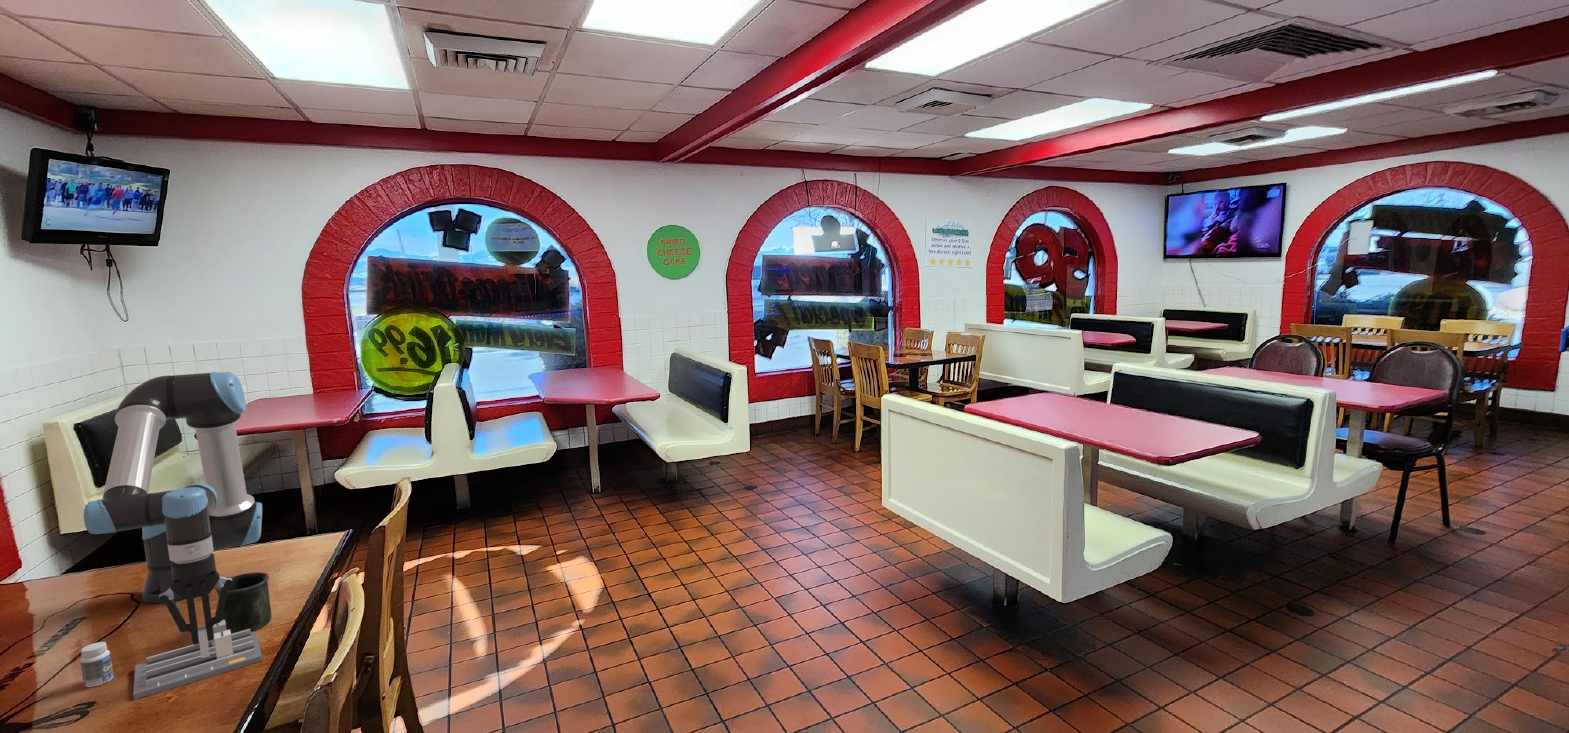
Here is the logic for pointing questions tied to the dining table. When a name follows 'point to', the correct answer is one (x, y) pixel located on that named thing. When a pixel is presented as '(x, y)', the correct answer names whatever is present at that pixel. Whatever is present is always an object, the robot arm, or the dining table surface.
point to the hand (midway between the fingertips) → (205, 654)
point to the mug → (247, 602)
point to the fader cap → (223, 644)
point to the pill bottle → (96, 664)
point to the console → (194, 663)
